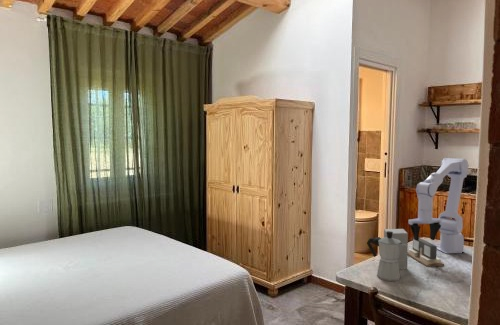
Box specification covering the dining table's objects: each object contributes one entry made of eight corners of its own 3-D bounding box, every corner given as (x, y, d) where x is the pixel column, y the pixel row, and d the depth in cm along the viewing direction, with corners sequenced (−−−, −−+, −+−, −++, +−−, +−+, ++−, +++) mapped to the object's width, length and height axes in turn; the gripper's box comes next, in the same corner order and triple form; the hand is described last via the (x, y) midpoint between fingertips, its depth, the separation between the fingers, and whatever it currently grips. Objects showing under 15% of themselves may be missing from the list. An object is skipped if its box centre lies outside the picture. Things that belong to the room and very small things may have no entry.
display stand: (421, 252, 174) (421, 242, 174) (444, 265, 157) (444, 253, 157) (404, 253, 173) (405, 242, 173) (426, 266, 156) (426, 254, 156)
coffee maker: (407, 276, 146) (409, 231, 144) (403, 284, 138) (404, 236, 137) (369, 269, 154) (370, 226, 152) (363, 276, 147) (364, 231, 145)
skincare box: (402, 264, 159) (403, 228, 158) (408, 270, 152) (409, 232, 151) (382, 264, 160) (383, 227, 158) (386, 270, 153) (387, 232, 151)
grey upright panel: (436, 259, 158) (436, 246, 158) (430, 259, 158) (430, 246, 158) (417, 248, 172) (418, 237, 172) (412, 249, 172) (412, 237, 171)
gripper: (414, 212, 159) (414, 243, 160) (446, 210, 160) (445, 241, 162) (406, 208, 166) (405, 238, 167) (436, 207, 167) (435, 237, 169)
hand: (424, 239), depth 165 cm, fingers open, 7 cm apart
